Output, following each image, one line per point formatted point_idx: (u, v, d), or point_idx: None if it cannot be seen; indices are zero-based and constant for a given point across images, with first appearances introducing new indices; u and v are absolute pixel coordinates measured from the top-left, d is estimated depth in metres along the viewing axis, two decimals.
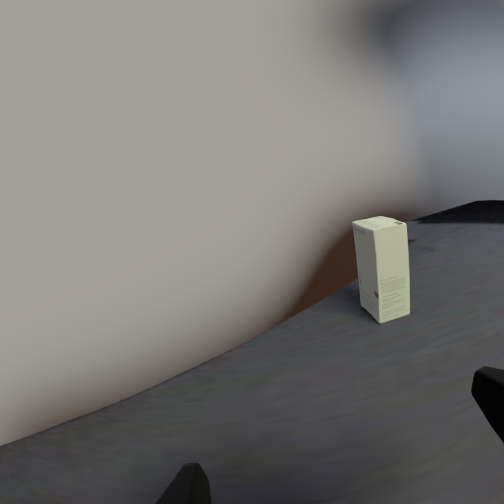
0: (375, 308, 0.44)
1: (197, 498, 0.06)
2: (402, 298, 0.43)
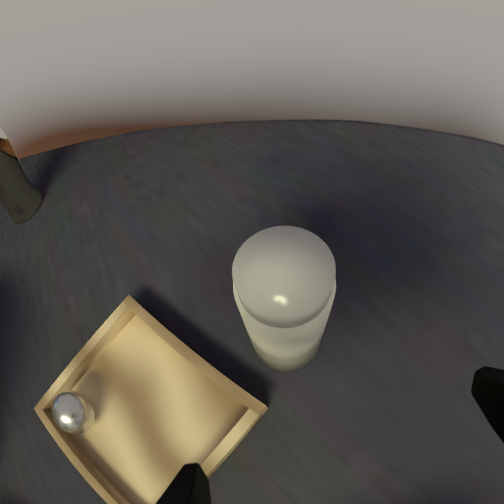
0: None
1: (197, 498, 0.06)
2: None
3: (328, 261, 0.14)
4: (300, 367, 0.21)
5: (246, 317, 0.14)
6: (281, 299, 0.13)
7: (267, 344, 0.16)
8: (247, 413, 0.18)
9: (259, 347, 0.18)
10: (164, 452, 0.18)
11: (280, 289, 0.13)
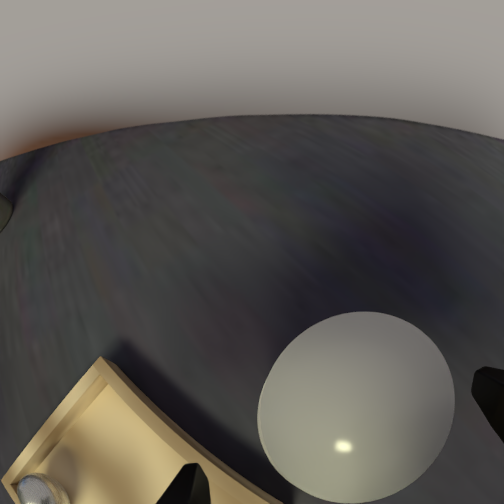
0: None
1: (197, 498, 0.06)
2: None
3: (443, 385, 0.06)
4: None
5: (283, 475, 0.06)
6: (361, 472, 0.05)
7: None
8: None
9: None
10: None
11: (358, 453, 0.05)
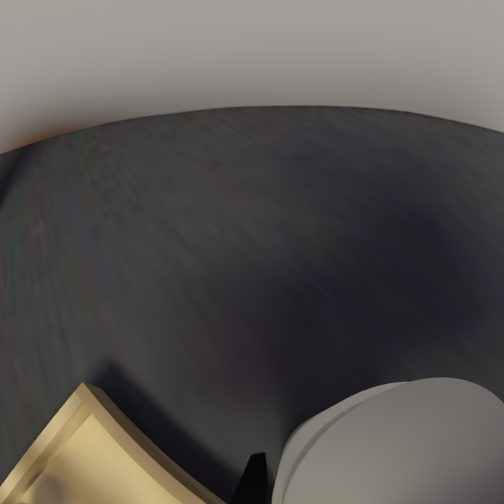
0: None
1: (272, 488, 0.06)
2: None
3: None
4: None
5: None
6: None
7: None
8: None
9: None
10: None
11: None
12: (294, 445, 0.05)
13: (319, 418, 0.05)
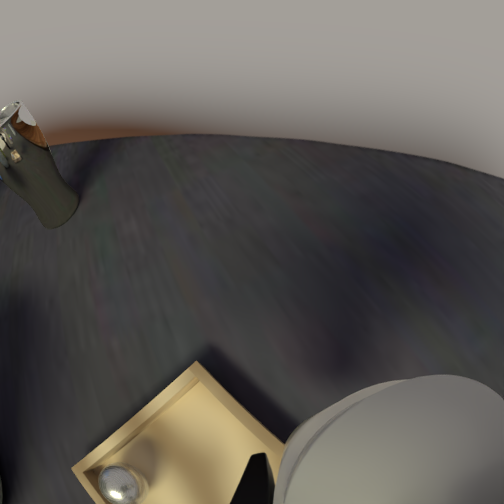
0: None
1: (272, 488, 0.06)
2: None
3: None
4: None
5: None
6: None
7: None
8: None
9: None
10: None
11: None
12: (296, 443, 0.05)
13: (321, 416, 0.05)
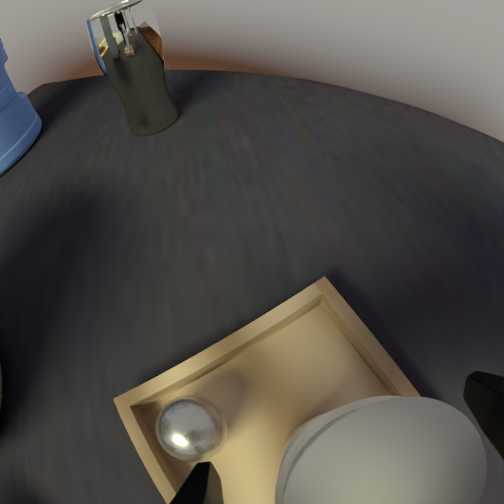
0: None
1: (211, 497, 0.06)
2: None
3: (476, 467, 0.04)
4: None
5: None
6: None
7: None
8: None
9: None
10: None
11: None
12: (293, 447, 0.06)
13: (314, 425, 0.07)
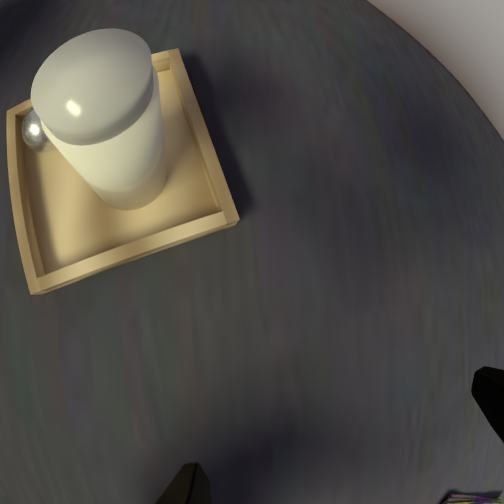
0: None
1: (197, 498, 0.06)
2: None
3: (141, 73, 0.09)
4: (132, 208, 0.18)
5: (42, 126, 0.09)
6: (65, 106, 0.08)
7: (72, 165, 0.12)
8: (217, 215, 0.18)
9: None
10: (108, 209, 0.18)
11: (70, 95, 0.08)
12: None
13: None
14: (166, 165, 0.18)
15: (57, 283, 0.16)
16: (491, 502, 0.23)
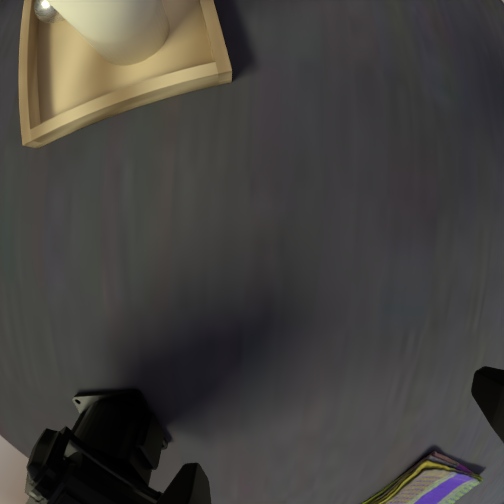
0: None
1: (197, 498, 0.06)
2: None
3: None
4: (128, 61, 0.15)
5: None
6: None
7: (61, 14, 0.09)
8: (209, 65, 0.15)
9: None
10: (107, 65, 0.16)
11: None
12: None
13: None
14: (166, 23, 0.15)
15: (47, 132, 0.15)
16: (471, 477, 0.27)
